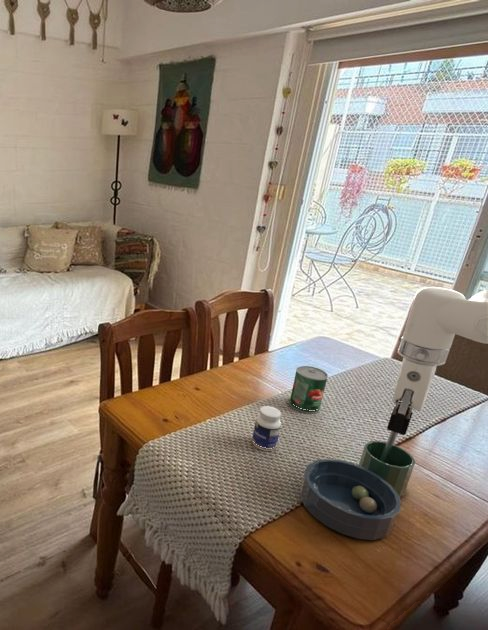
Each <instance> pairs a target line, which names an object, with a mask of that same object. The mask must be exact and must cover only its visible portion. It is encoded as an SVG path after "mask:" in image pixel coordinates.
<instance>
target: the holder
mask: <svg viewBox="0 0 488 630" xmlns="http://www.w3.org/2000/svg"><path fill="white" fill-rule="evenodd" d="M386 443H387V441H381V440H370V441H368V442H365V444H364V446H363V449H362V452H361V456H360V459H359V462H358V465H359V466H361V467H364V468H366V469H368V470H370V471H372V472H373V473H375V474H377V475H379V476H380V477H381V478H383V479H384V480H385V481H386V482H388V483H389V484H390V485H391V486H392V487H393V488H394V490H395V491H396V492H397V494H398V495H399V498H402V497H403V496H404V494H405V493H406V490H407V487H408V484H409V481H410V479H411V477H412V473H413V470H414V467H415V465H416V460H415V458H414V457H413V455H412V454H411V453H410V452H409V451H407V450H406V449H404V448H402V447H400V446H399V445H396V444H394V445H393V447H392V450H391V452H390V455H389V457H388V460H387V462H386V463H384V462H382V461H380V458H381V456H382V453H383V451H384V448H385V445H386Z"/></svg>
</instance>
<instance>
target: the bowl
mask: <svg viewBox="0 0 488 630" xmlns="http://www.w3.org/2000/svg"><path fill="white" fill-rule="evenodd" d="M355 486H362V487H364V488H365V489H366V490H367V491H368V493H369V497H370V498H372V499H374V500H375V502H376V503H377V510H376V511H375V512H373V513H368V512H365V511H364V510H362V508H361V507H360V504H359V502H360V501H358V500H356V499H355V498H354V497H353V495H352V489H353V487H355ZM299 498H300V500H301V502H302V504H303V506H304V508H305V509H306V510H307V511H308V513H310V514H311V515H312V516H313V517H314V518H315V519H316V520H317V521H319V522H321V524H323V525H324V526H326V527H327V528H330V529H331V530H334V531H335V532H338V533H339V534H342V535H344V536H347V537H352V538H354V539H358V540H367V541H375V540H380V539H385V538H387V537H388V536H389V535H391V534H392V533H393V531H394V528H395V525H396V523H397V521H398V517H399V515H400V510H401V507H402V501H401V499H400V498H401V497H399V495H398V494H397V492H396V491H395V490H394V488H393V487H392V486H391V485H390V484H389V483H388V482H386V481H385V480H384V479H383V478H381V477H380V476H379V475H377V474H375V473H373V472H372V471H370V470H368V469H366V468H364V467H361V466H359V464H356V463H354V462H351V461H350V462H349V461H346V460H342V459H336V458H335V459H334V458H322V459H315V460H314V461H311V462H310V463H308V464H307V466H306V467H305V469H304V472H303V476H302V480H301V483H300V487H299Z"/></svg>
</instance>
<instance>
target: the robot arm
mask: <svg viewBox="0 0 488 630" xmlns="http://www.w3.org/2000/svg"><path fill="white" fill-rule="evenodd" d="M456 335H457V336H459V337H463V338H465V339H467V340H471V341H474V342H477V343H481V344H485V345H486V344H487V345H488V289H485V290H482V291H480V292H478V293H476V294H475V295H473V296H471V298H469V299H467V298H466V296H465V295H464V294H463V293H461V292H459V291H457V290H454V289H449V288H444V287H437V286H427V287H426V286H425V287H423V288H420V289H419V290H417V291H416V293H415V294H414V298H413V301H412V304H411V307H410V310H409V313H408V317H407V321H406V324H405V327H404V329H403V333H402V337H401V340H400V343H399V346H398V349H397V354H398V355H399V356H401V357H402V362H401V365H400V368H399V371H398V374H397V378H396V382H395V387H394V392H393V397H392V403H393V404H394V405H395V406H394V407H393V409H392V412H391V414H390V417H389V421H388V423H387V427H386V429H387V431H390V432H391V431H393V432H396V433H398V435H403V436H406V435H407V431H408V429H409V426H410V422H411V420H412V416H413V414H414V413H413V410H415V411H417V412H422V411H423V408H424V405H425V403H426V400H427V397H428V395H429V392H430V389H431V386H432V383H433V381H434V377H435V374H436V370H437V367H438V366H443V365H445V364H446V362H447V359H448V356H449V353H450V350H451V348H452V345H453V342H454V339H455V336H456ZM399 406H400V407H399ZM407 408H408V409H409V411H408V410H407Z"/></svg>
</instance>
